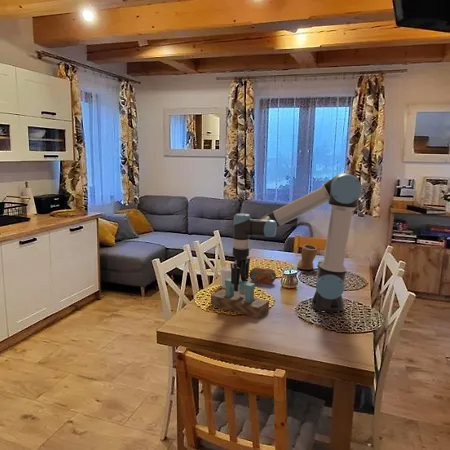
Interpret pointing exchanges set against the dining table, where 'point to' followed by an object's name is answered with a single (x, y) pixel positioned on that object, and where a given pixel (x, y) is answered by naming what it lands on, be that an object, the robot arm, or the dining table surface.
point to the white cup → (224, 275)
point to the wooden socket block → (240, 304)
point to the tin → (262, 275)
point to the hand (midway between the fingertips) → (239, 295)
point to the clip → (243, 285)
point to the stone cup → (307, 257)
